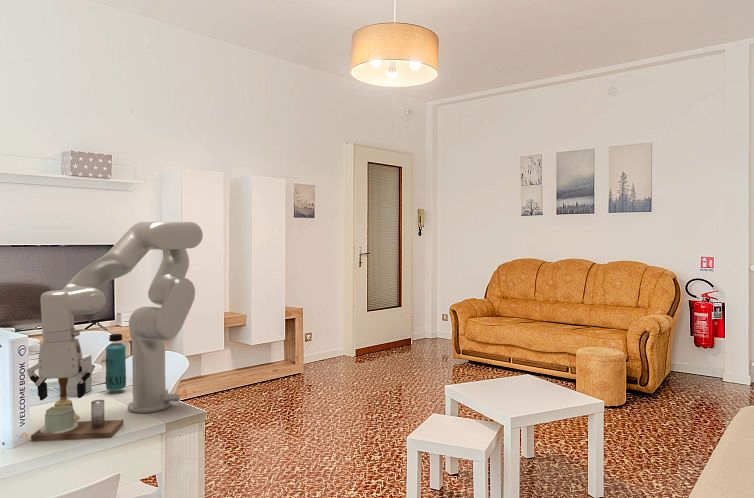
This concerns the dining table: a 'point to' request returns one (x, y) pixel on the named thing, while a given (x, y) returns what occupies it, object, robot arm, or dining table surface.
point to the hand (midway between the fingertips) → (62, 397)
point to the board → (79, 431)
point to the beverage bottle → (115, 364)
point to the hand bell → (64, 396)
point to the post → (97, 414)
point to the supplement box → (72, 382)
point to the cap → (59, 418)
